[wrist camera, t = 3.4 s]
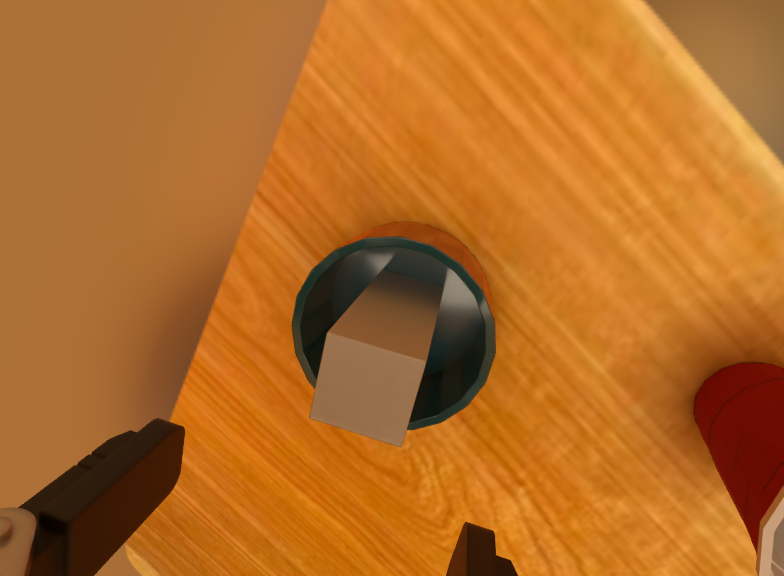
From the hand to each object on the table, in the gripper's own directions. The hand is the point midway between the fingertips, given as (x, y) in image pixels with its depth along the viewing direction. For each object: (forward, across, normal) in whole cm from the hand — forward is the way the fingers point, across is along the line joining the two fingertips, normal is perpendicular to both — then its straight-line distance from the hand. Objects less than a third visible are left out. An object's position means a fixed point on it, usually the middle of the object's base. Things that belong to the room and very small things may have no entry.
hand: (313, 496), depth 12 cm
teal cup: (+18, 0, 0) cm, 18 cm away
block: (+17, 0, 0) cm, 17 cm away
